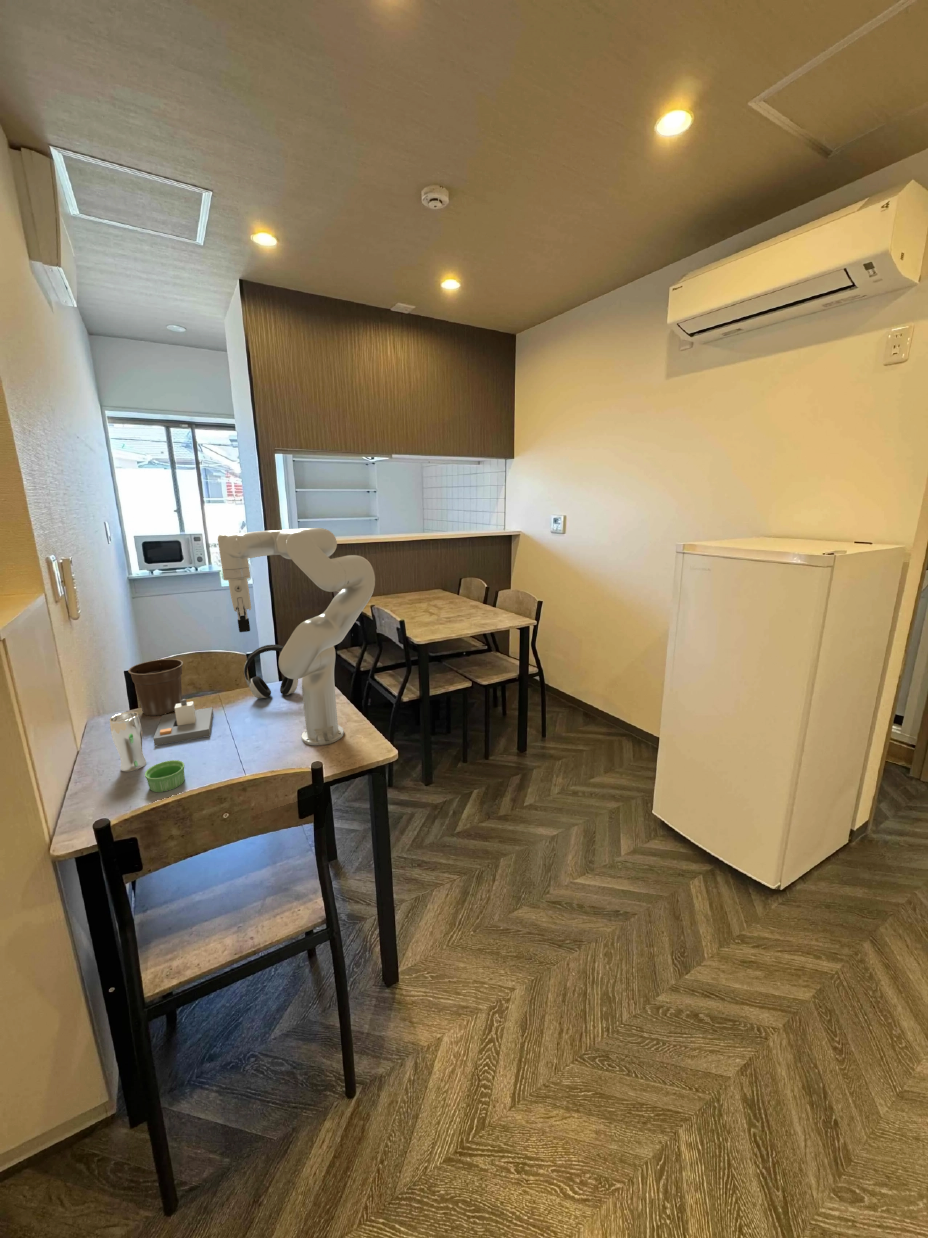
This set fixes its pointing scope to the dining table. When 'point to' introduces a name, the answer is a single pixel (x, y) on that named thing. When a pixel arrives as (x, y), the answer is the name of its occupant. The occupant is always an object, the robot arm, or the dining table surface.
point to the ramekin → (165, 775)
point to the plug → (185, 712)
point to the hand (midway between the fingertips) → (244, 631)
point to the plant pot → (158, 685)
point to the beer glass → (128, 740)
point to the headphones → (259, 685)
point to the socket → (183, 727)
